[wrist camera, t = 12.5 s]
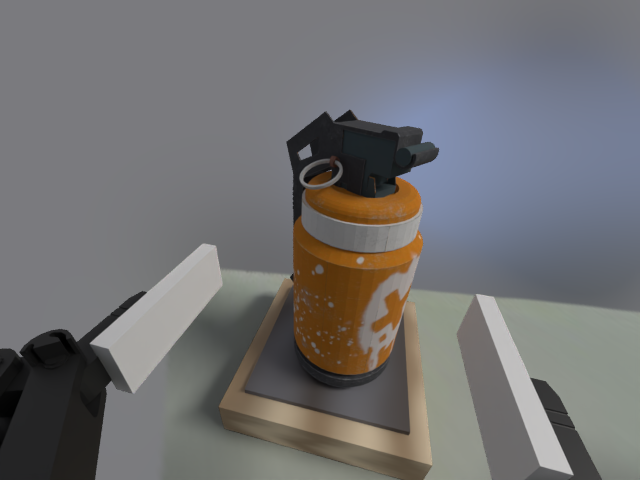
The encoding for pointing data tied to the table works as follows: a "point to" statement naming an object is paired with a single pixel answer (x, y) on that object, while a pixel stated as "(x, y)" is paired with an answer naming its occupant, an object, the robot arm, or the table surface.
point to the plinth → (332, 400)
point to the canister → (353, 243)
